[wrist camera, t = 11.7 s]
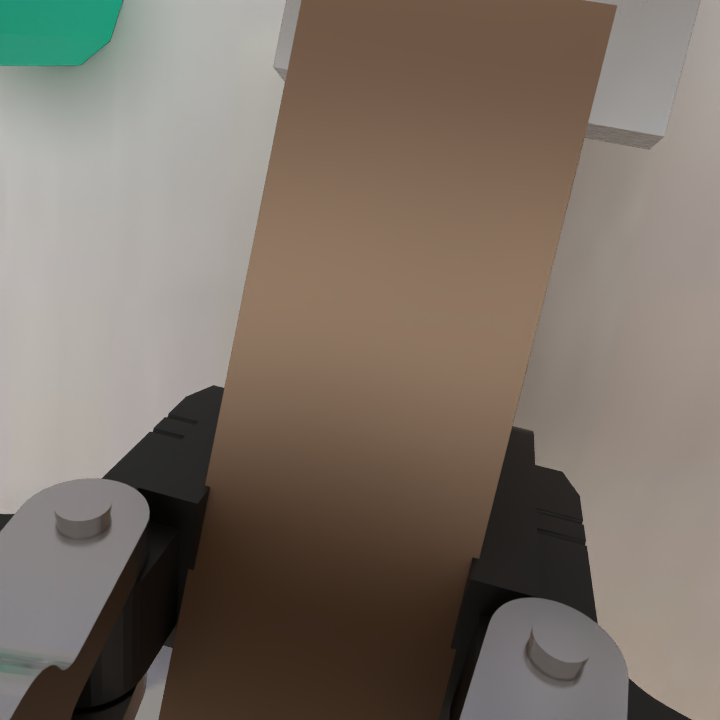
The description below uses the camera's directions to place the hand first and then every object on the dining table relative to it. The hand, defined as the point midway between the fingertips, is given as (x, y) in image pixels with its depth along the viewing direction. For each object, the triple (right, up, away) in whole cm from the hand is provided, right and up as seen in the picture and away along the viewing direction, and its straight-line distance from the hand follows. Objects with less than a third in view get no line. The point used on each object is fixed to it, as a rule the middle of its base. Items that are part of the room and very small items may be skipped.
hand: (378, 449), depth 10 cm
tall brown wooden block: (+1, +2, +1) cm, 3 cm away
